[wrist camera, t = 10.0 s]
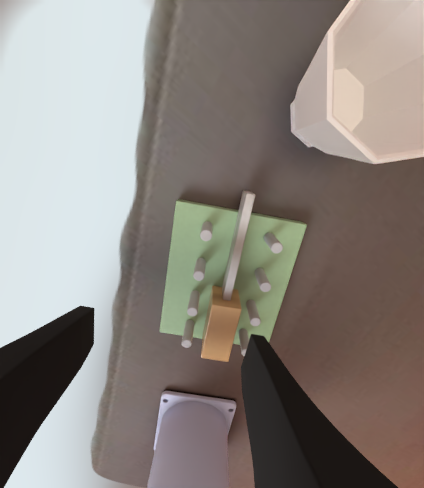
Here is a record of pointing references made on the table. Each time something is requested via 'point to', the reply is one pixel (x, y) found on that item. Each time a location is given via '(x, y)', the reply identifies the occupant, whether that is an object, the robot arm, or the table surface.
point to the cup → (366, 84)
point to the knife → (227, 293)
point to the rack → (214, 266)
